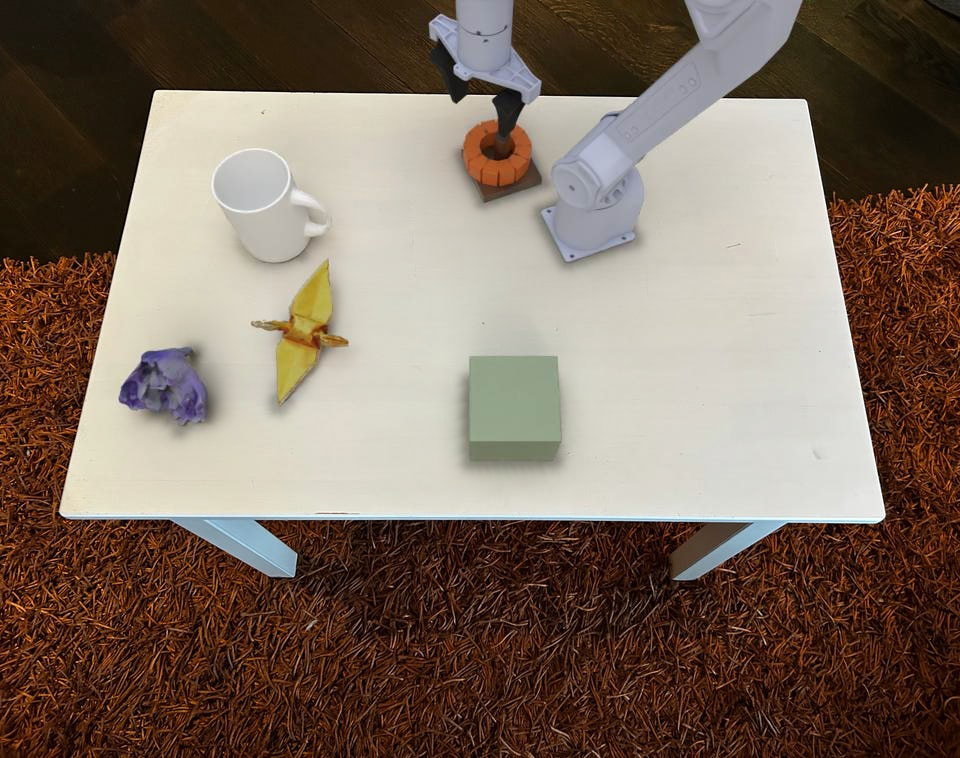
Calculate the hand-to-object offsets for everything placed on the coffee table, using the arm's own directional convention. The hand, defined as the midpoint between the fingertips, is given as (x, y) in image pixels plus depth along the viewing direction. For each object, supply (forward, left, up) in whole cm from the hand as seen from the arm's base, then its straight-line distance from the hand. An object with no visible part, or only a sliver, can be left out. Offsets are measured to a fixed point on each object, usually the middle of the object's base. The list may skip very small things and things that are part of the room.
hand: (483, 114), depth 78 cm
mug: (+27, +3, -8) cm, 28 cm away
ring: (-1, +2, -6) cm, 7 cm away
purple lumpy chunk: (+44, +18, -8) cm, 48 cm away
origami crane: (+29, +17, -8) cm, 34 cm away
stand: (-1, +3, -7) cm, 8 cm away
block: (+11, +35, -7) cm, 37 cm away
